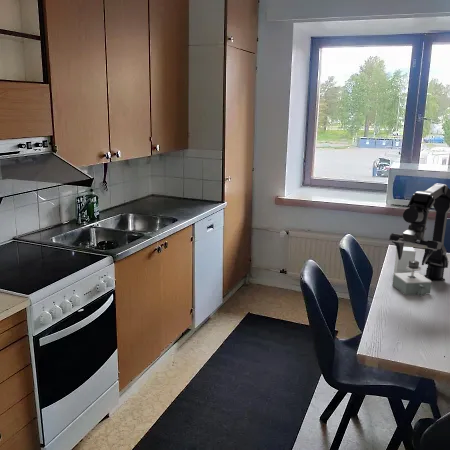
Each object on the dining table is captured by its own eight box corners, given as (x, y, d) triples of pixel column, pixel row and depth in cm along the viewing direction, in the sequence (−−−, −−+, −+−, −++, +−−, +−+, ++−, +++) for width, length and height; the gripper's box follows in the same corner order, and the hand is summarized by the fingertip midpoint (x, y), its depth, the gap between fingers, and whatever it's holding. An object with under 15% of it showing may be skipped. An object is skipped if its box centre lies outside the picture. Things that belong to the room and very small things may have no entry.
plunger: (415, 276, 203) (418, 258, 202) (426, 283, 195) (428, 264, 193) (397, 277, 202) (399, 258, 200) (407, 284, 194) (409, 265, 192)
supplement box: (413, 278, 213) (416, 251, 210) (395, 276, 215) (398, 250, 212) (410, 272, 220) (413, 246, 217) (393, 271, 222) (396, 245, 219)
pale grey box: (415, 284, 206) (417, 272, 205) (434, 296, 193) (435, 283, 191) (392, 285, 204) (393, 273, 203) (409, 297, 191) (410, 285, 190)
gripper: (387, 218, 186) (380, 257, 187) (436, 227, 173) (427, 268, 175) (398, 220, 194) (391, 257, 195) (445, 228, 182) (437, 267, 183)
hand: (410, 262), depth 187 cm, fingers open, 9 cm apart
